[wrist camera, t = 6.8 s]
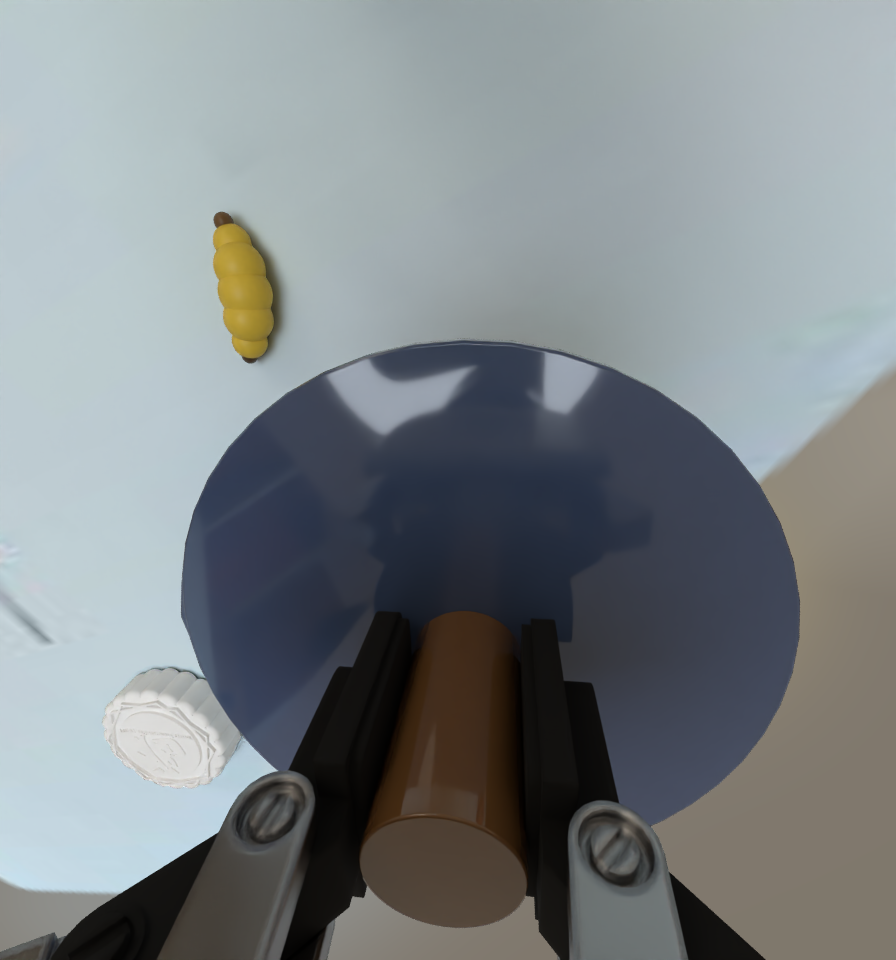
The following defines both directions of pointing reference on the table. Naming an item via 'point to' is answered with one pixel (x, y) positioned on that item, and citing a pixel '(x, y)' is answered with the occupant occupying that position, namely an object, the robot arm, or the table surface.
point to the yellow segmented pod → (242, 288)
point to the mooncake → (170, 729)
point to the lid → (491, 592)
